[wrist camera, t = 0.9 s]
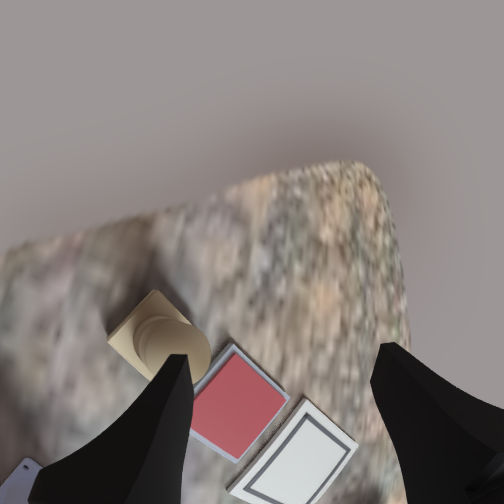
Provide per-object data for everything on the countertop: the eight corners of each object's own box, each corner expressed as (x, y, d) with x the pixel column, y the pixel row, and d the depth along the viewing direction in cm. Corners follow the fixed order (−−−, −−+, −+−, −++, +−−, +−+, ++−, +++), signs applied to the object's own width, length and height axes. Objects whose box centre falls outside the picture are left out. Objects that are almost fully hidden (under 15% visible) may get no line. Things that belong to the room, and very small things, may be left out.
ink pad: (231, 460, 24) (237, 465, 23) (165, 414, 22) (169, 419, 21) (285, 395, 27) (293, 398, 26) (229, 342, 25) (235, 344, 24)
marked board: (295, 520, 26) (299, 522, 25) (226, 490, 23) (229, 493, 22) (355, 444, 31) (359, 445, 31) (303, 397, 28) (307, 399, 28)
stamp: (153, 381, 22) (182, 416, 15) (105, 336, 20) (113, 357, 14) (195, 335, 24) (239, 351, 17) (151, 289, 23) (178, 289, 16)
